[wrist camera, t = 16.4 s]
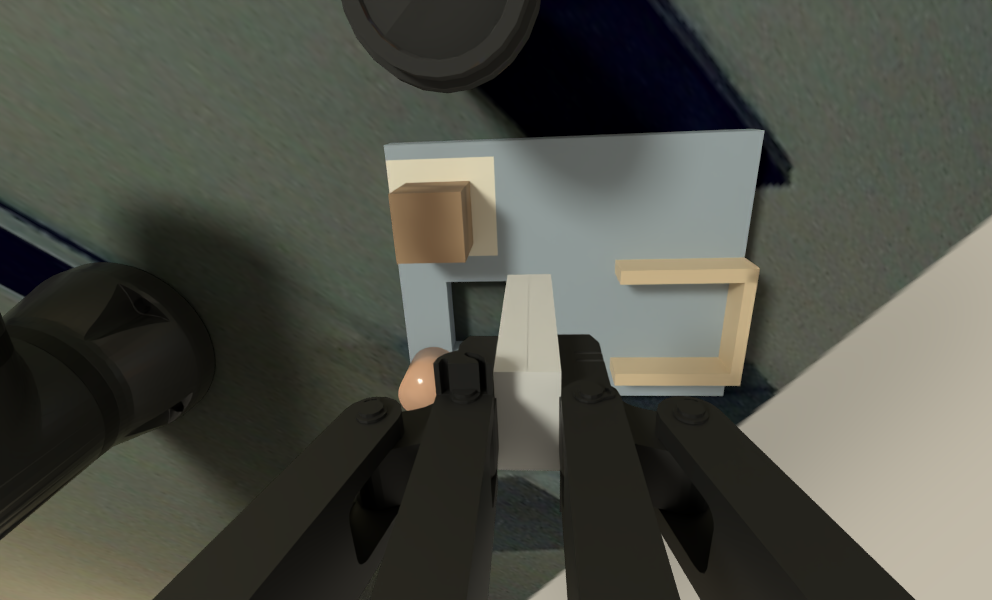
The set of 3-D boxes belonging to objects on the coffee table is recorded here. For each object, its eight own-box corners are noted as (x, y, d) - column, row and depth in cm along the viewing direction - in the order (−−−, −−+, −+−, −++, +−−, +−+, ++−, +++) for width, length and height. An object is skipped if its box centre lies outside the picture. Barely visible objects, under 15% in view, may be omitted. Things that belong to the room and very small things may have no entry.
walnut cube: (412, 245, 36) (396, 263, 32) (406, 182, 34) (388, 194, 30) (473, 243, 35) (465, 262, 31) (469, 180, 34) (460, 191, 30)
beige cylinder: (413, 389, 41) (401, 418, 37) (408, 347, 39) (395, 372, 35) (461, 389, 40) (453, 418, 36) (457, 346, 39) (449, 372, 35)
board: (419, 382, 43) (407, 412, 38) (391, 142, 35) (372, 148, 31) (714, 382, 41) (735, 414, 36) (751, 128, 33) (782, 132, 29)
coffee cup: (565, 25, 32) (591, -36, 18) (478, 123, 34) (441, 137, 20) (472, -82, 30) (419, -243, 16) (387, 30, 32) (278, -24, 18)
